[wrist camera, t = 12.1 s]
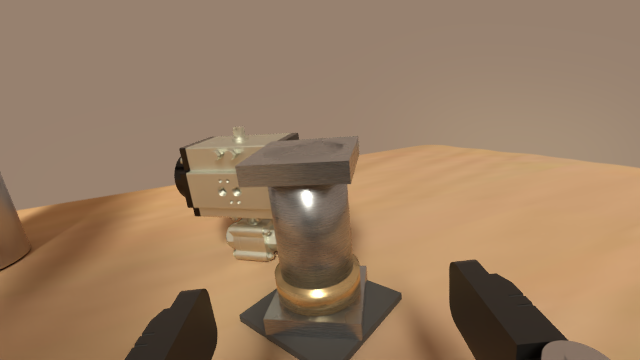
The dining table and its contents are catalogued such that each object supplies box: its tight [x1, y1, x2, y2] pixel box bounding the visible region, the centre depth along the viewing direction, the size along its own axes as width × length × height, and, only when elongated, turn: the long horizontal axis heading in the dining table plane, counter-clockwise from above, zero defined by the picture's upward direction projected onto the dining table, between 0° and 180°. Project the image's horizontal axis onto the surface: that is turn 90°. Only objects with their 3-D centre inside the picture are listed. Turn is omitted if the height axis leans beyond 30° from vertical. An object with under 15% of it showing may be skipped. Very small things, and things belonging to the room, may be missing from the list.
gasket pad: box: [239, 280, 402, 360], centre depth 23 cm, size 8×8×1 cm
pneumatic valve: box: [174, 127, 299, 262], centre depth 30 cm, size 6×12×12 cm, turn 74°
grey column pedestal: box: [235, 136, 367, 341], centre depth 21 cm, size 6×6×11 cm
